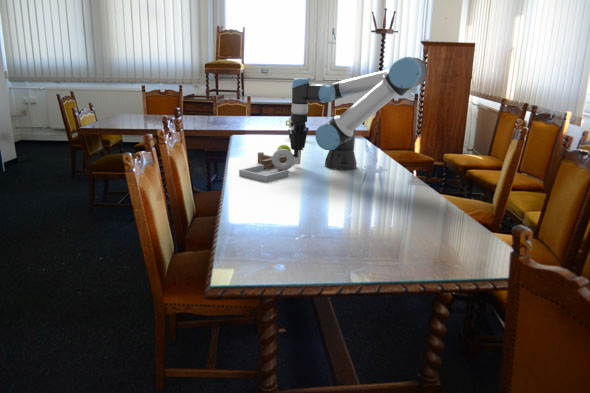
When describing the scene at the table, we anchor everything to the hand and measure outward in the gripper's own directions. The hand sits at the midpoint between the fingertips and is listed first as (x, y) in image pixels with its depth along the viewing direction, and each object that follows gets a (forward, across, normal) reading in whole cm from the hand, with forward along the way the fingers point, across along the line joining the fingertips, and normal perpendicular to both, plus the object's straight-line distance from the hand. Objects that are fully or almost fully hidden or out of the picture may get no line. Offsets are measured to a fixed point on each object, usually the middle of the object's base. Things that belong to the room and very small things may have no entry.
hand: (297, 163), depth 224 cm
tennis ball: (+2, -10, -16) cm, 19 cm away
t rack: (+1, +5, -13) cm, 14 cm away
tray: (+1, +24, +1) cm, 24 cm away
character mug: (+2, -62, -49) cm, 79 cm away
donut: (+2, +11, 0) cm, 11 cm away
